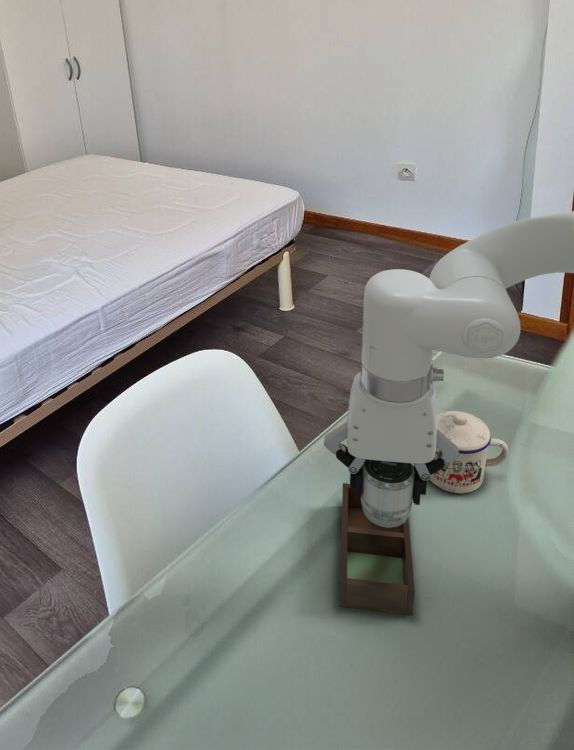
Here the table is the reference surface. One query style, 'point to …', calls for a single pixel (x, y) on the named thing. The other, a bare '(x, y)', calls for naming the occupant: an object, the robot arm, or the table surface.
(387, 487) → the camera lens
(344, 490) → the holder
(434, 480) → the teacup with lid
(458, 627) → the table surface
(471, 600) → the table surface
